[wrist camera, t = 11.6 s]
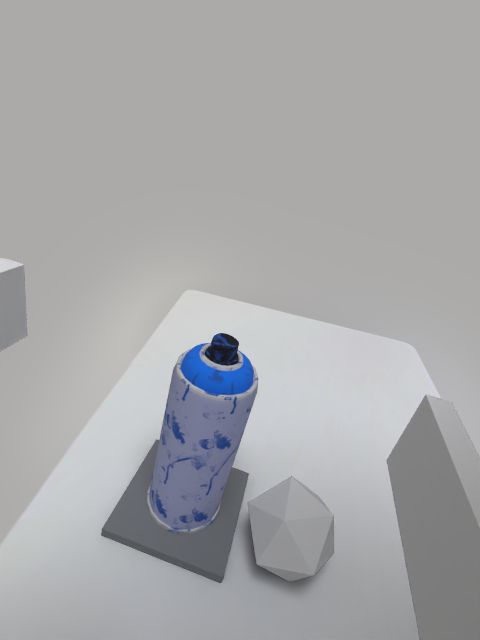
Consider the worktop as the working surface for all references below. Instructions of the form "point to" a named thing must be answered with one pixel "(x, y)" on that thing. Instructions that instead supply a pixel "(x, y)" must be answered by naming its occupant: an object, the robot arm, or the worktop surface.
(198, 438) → the aerosol can
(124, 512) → the mat
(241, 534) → the worktop surface
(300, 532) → the die
